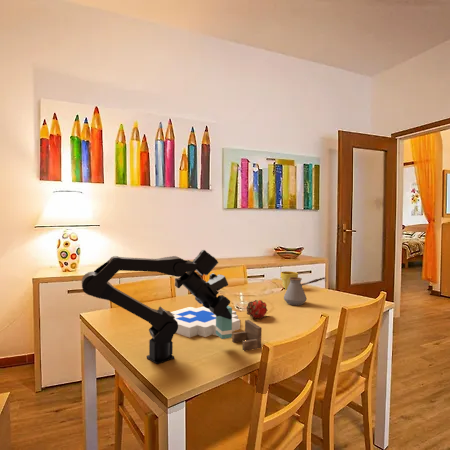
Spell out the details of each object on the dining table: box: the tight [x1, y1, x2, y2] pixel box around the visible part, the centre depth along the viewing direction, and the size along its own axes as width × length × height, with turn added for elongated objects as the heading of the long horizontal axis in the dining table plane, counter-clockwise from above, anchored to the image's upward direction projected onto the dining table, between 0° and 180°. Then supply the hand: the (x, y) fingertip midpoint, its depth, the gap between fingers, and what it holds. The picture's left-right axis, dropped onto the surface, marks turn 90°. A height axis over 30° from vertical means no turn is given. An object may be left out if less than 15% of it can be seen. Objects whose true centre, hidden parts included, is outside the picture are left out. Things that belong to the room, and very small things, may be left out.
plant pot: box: [280, 270, 299, 291], centre depth 211 cm, size 10×10×10 cm
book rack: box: [231, 319, 262, 352], centre depth 122 cm, size 6×9×7 cm
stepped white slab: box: [170, 306, 241, 338], centre depth 143 cm, size 28×4×28 cm
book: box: [216, 305, 233, 340], centre depth 119 cm, size 4×6×10 cm, turn 23°
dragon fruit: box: [246, 299, 269, 320], centre depth 154 cm, size 8×8×12 cm
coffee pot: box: [283, 276, 327, 306], centre depth 175 cm, size 21×12×15 cm, turn 57°
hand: (227, 315), depth 119 cm, fingers closed on book, 5 cm apart
